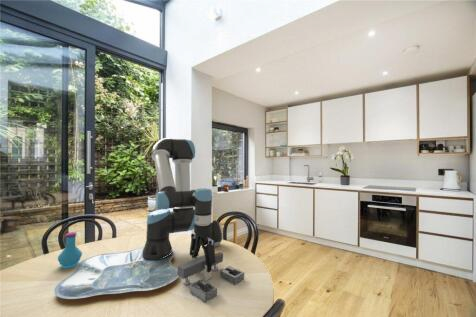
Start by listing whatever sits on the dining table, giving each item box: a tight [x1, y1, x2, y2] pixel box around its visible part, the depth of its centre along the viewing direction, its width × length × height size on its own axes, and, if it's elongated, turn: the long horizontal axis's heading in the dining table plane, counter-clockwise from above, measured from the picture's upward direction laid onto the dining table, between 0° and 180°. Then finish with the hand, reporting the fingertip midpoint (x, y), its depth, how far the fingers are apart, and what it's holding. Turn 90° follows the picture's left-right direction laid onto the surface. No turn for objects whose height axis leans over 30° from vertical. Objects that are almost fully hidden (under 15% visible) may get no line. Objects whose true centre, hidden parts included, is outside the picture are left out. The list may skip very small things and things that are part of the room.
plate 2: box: [219, 265, 245, 286], centre depth 96 cm, size 9×6×3 cm, turn 48°
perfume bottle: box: [57, 231, 83, 269], centre depth 105 cm, size 9×9×15 cm
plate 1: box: [189, 278, 218, 304], centre depth 84 cm, size 9×6×3 cm, turn 48°
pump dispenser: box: [209, 219, 223, 248], centre depth 134 cm, size 10×10×15 cm
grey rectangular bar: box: [176, 249, 224, 286], centre depth 97 cm, size 4×22×8 cm, turn 138°
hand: (201, 275), depth 97 cm, fingers open, 8 cm apart
